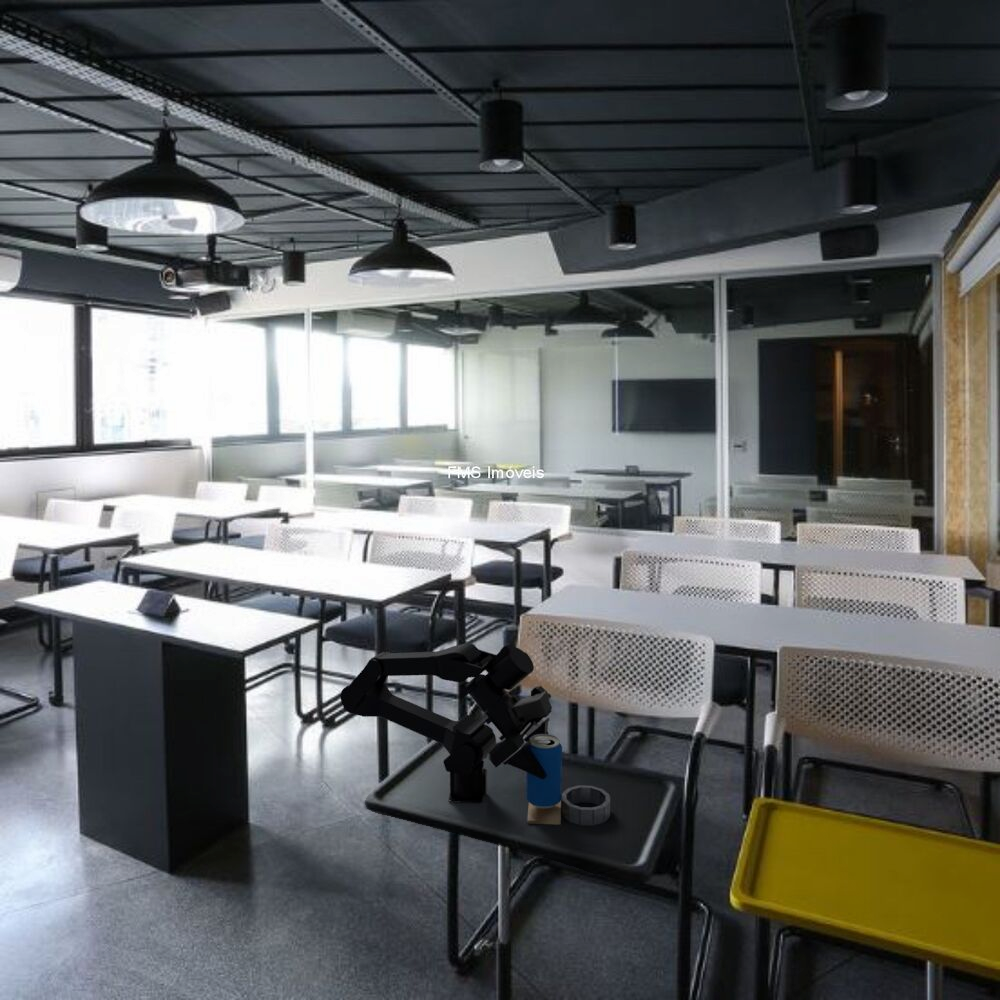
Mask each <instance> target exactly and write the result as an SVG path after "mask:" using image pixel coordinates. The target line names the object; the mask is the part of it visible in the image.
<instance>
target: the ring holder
mask: <svg viewBox="0 0 1000 1000" xmlns="http://www.w3.org/2000/svg"><path fill="white" fill-rule="evenodd" d="M579 803H586V804H587V803H590V804H593V805H596V806H593V807H587V806H586V807H585V806H584V807H583V806H578V805H575V804H579ZM561 817H563V818H565V820H566V821H568V822H570V823H573V824H576V825H578V826H590V827H591V826H597V825H601V824H604V823H605V822H606V821H607V820H608V819H610V817H611V796H610V794H609V793H608V792H607V791H606V790H604V789H603V788H600V787H597V786H595V785H594V786H593V785H582V784H581V785H575V786H570V787H568V788H567V789H565V790H564V791H563V792H561Z"/></svg>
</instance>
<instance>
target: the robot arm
mask: <svg viewBox="0 0 1000 1000" xmlns="http://www.w3.org/2000/svg"><path fill="white" fill-rule="evenodd" d="M534 669H535V667H534V662H533V660H532V659H531V657H530V656H529V654H528V653H527V652H524V650H522V649H520V648H519V647H516V646H513V644H511V642H508V643H506V645H504V646H503V647H502V648H500V650H499V651H498V653H497V654H494V653H491V652H488V651H484V650H482V649H479V648H478V647H477V646H476V645H475V644H473V643H469V642H466V643H462V644H457V645H453V646H450V647H447V648H445V649H441V650H438V651H422V652H421V651H417V652H416V651H415V652H390V653H389V652H386V651H383V652H380V653H379V654H377V655H375V656H373V657H371V658H370V659H369V660H368V661H367V663H366V665H365V666H364V667H363V669H362V670H361V671H360V672H359V674H358V675H357V676H356V677H355V678H354V679H353V680H352V681H351V682H350V683H349V684H348V685H346V686H345V687H344V688H343V689H342V690H341V692H340V701H341V705H342V708H343V709H344V711H346V712H347V713H349V714H352V715H356V716H360V717H365V718H367V717H369V718H372V717H374V718H375V717H377V718H378V717H379V718H382V719H384V720H386V721H389V722H391V723H394V724H396V725H398V726H401V727H402V728H405V729H408V730H410V731H411V732H413V733H416V734H419V735H420V736H423V737H425V738H427V739H430V740H432V741H434V742H436V743H439V744H440V745H442V746H443V747H444V748H445V750H446V751H447V752H448V753H449V755H448V756H447V757H446V758H445V759H444V760H443V766H444V768H445V771H446V772H449V791H450V792H449V795H448V801H449V800H451V801H460V802H459V803H472V804H473V803H475V804H480V803H483V802H484V801H483V800H484V796H486V794H487V791H488V770H487V768H485V760H484V759H486V758H487V757H488V759H489V761H490V762H491V764H492V765H493V766H494V767H495V768H497V767H499V766H500V765H501V764H503V765H504V766H506V765H509V766H512V767H513V768H514V767H515V768H517V769H518V770H522V771H524V772H526V773H527V772H528V773H530V774H532V775H534V776H536V777H538V778H541V779H545V778H546V777H547V774H546V773H545V771H544V769H543V768H542V766H541V765H540V763H539V762H538V760H537V759H536V758H535V756H534V755H533V753H532V752H531V741H530V740H529V739H530V738H531V737H532V736H534V735H538V734H549V731H548V727H549V721H550V717H548V716H549V715H550V713H551V712H552V709H553V707H552V704H551V702H550V700H551V698H552V695H551V693H548V691H547V690H546V689H545V688H544V687H543V686H542V685H538V686H534V687H533V688H532V689H531V691H530V695H528V696H526V697H525V698H520V696H519V695H518V694H516V693H514V694H513V695H511V694H509V692H508V691H510V690H513V689H514V688H515V687H516V686H518V684H520V683H521V682H522V681H523V680H524V679H526V678H527V677H528V676H529V675H530V674H531V673H533V671H534ZM485 671H486V674H482V673H483V672H485ZM400 676H402V677H405V676H408V677H409V676H434V677H437V678H439V679H441V680H442V681H449V682H454V683H460V684H459V685H458V686H459V695H458V699H459V700H460V701H461V700H463V699H464V698H466V697H467V696H468V695H469V697H471V698H472V700H473V701H474V703H476V705H477V706H478V707H479V709H481V711H483V713H484V714H485V716H486V719H485V720H480V719H478V718H475V717H474V716H472V715H469V714H466V715H464V716H463V717H462V718H460V720H452V719H450V718H448V717H445V716H444V715H441V714H438V713H436V712H434V711H433V710H432V711H431V710H429V709H428V708H425V707H422V706H421V705H418V704H416V703H413V702H410V701H408V700H406V699H404V698H401V697H398V696H397V695H394V694H393V693H392V692H391V691H390V689H389V688H388V686H387V685H386V682H387V680H388V678H389V677H400ZM468 678H469V679H470V678H471V680H470V681H467V679H468ZM544 718H546V719H545V720H543V719H544ZM491 723H492V724H493V725H494V726H495V728H496V729H497V730H498V732H499V733H500V734H501V735H500V736H499V737H498V739H499V740H500V741H499V742H498V743H497V738H496V734H495V733H494V730H493V728H492V727H491V726H489V725H490V724H491ZM525 735H526V736H525Z"/></svg>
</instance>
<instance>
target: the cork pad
mask: <svg viewBox="0 0 1000 1000" xmlns="http://www.w3.org/2000/svg"><path fill="white" fill-rule="evenodd" d="M527 808H528V809H527V819H526V822H527V823H526V824H530V825H531V824H535V825H559V826H560V825H562V823H561V821H562V800H561V801H560V802H559V803H558V804H556V805H555V806H554V807H551V808H546V809H543V808H537V807H535V806H533V805H532V804H531V803H529V802H528V807H527Z"/></svg>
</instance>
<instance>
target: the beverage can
mask: <svg viewBox="0 0 1000 1000" xmlns="http://www.w3.org/2000/svg"><path fill="white" fill-rule="evenodd" d="M529 740H530V741H531V752H532V753H533V755H534V756H535V758H536V759H537V760H538V762H539V763H540V765H541V766H542V768H543V769H544V771H545V773H546V774H547V777H546V778H545V779H541V778H538V777H536V776H534V775H532V774H530V773H528V772H526V773H525V774H526V777H525V778H526V781H525V782H526V785H525V786H526V787H525V789H526V790H525V791H526V793H525V796H526V797H525V798H526V800H527V802H528V804H529V803H531V804H532V805H533V806H535V807H537V808H543V809H546V808H551V807H554V806H555V805H556V804H558V803H559V802H560V801H561V802H562V783H563V782H562V779H563V778H562V775H563V773H562V772H563V770H562V769H563V768H562V767H563V746H562V744H561V740H560V738H559V737H558V736H556V735H554V734H549V733H548V734H538V735H534V736H532V737H531V738H530V739H529Z"/></svg>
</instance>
